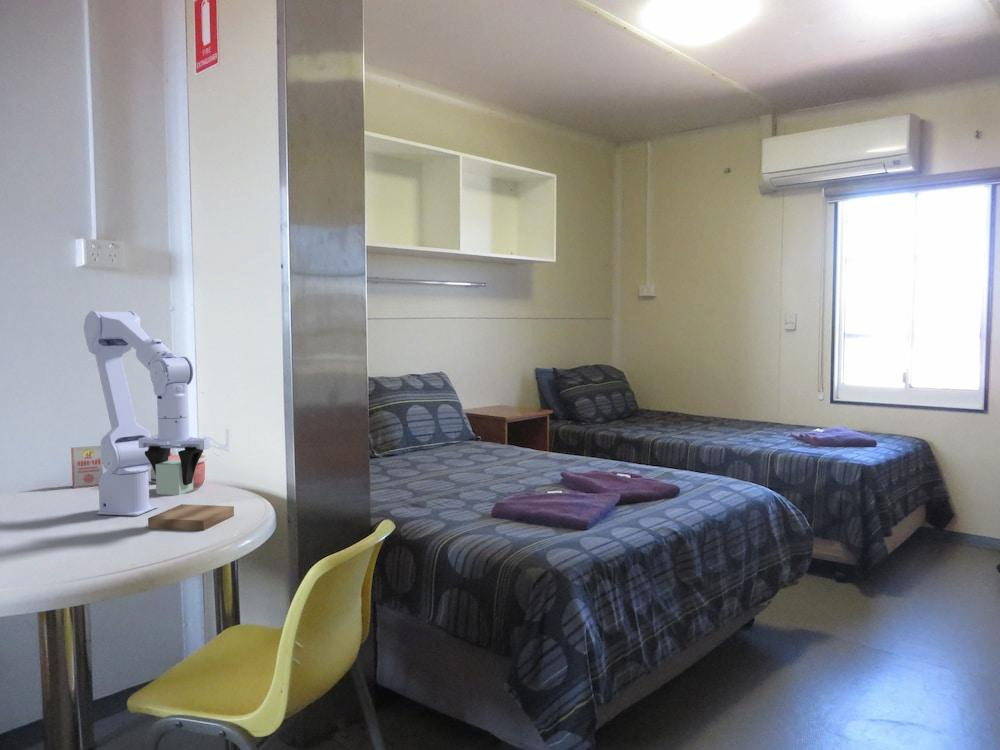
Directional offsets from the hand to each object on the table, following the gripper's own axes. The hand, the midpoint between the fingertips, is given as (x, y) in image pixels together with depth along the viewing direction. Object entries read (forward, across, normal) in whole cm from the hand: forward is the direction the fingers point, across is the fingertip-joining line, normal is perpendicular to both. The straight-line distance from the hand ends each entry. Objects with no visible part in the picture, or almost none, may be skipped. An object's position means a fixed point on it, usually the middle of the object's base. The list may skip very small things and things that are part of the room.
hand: (175, 483), depth 155 cm
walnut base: (+8, +2, +2) cm, 9 cm away
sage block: (+2, 0, 0) cm, 2 cm away
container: (+9, -17, +30) cm, 36 cm away
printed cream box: (+9, -44, +31) cm, 55 cm away
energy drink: (+9, -28, +38) cm, 48 cm away
